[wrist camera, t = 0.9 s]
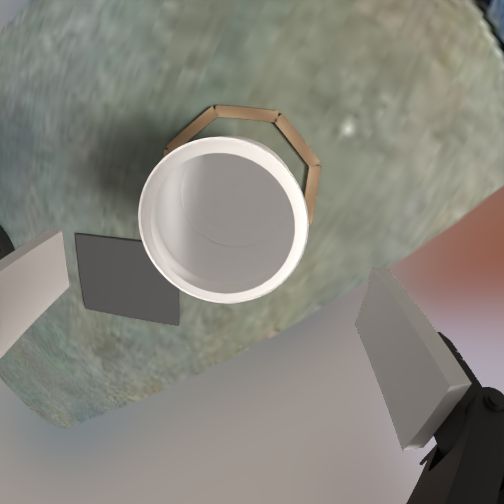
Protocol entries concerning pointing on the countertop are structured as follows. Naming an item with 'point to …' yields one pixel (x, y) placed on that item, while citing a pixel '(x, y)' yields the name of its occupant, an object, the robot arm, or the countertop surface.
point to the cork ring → (260, 116)
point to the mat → (124, 280)
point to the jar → (223, 219)
